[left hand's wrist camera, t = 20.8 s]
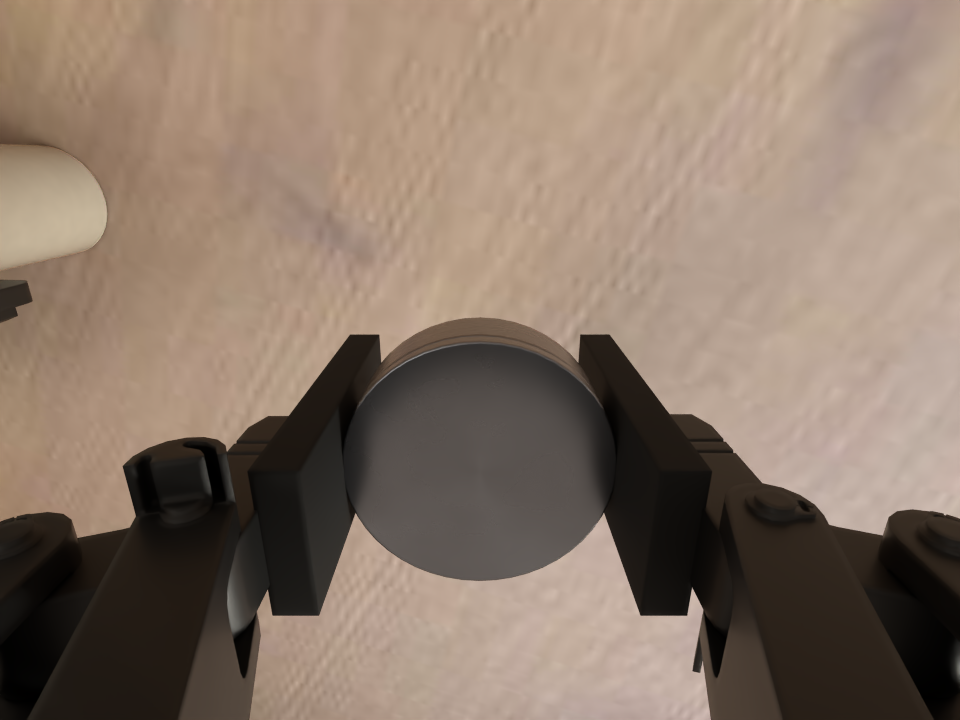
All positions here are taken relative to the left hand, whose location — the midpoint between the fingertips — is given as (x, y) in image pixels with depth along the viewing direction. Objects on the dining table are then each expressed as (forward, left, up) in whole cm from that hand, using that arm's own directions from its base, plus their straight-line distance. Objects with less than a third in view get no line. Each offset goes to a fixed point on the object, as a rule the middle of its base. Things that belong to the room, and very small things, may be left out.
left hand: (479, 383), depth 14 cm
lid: (0, 0, +4) cm, 4 cm away
